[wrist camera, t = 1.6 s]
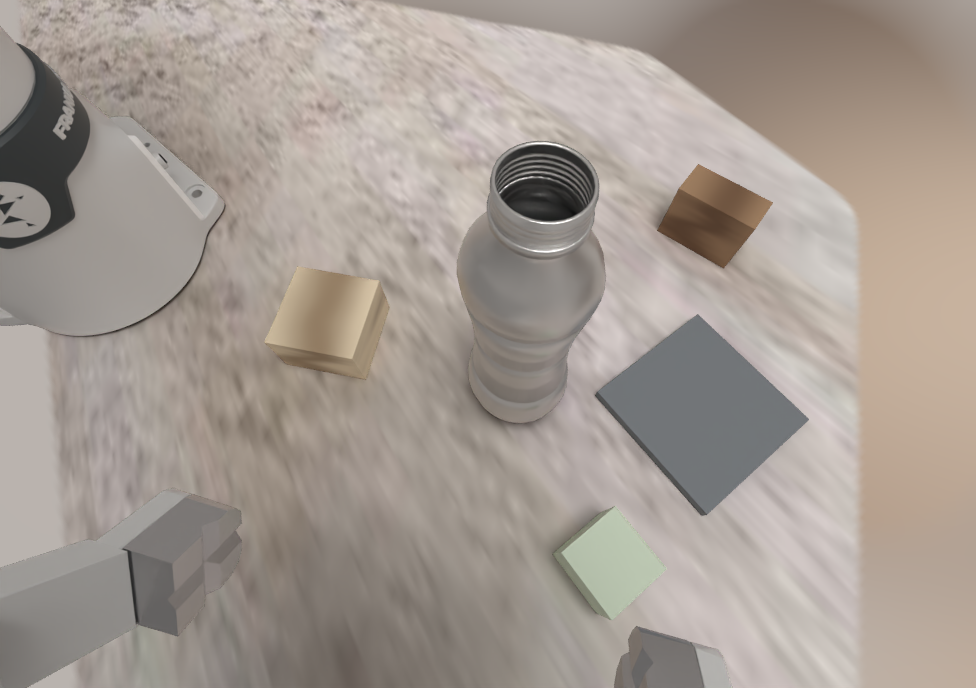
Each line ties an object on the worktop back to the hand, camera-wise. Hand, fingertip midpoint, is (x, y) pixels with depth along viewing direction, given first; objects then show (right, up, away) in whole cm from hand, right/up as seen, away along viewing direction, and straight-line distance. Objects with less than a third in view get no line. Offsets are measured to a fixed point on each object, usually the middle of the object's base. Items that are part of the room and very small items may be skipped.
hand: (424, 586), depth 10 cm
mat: (+16, 0, +24) cm, 29 cm away
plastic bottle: (+3, +2, +25) cm, 25 cm away
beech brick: (-10, +5, +26) cm, 29 cm away
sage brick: (+8, -8, +20) cm, 23 cm away
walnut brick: (+19, +14, +30) cm, 38 cm away
